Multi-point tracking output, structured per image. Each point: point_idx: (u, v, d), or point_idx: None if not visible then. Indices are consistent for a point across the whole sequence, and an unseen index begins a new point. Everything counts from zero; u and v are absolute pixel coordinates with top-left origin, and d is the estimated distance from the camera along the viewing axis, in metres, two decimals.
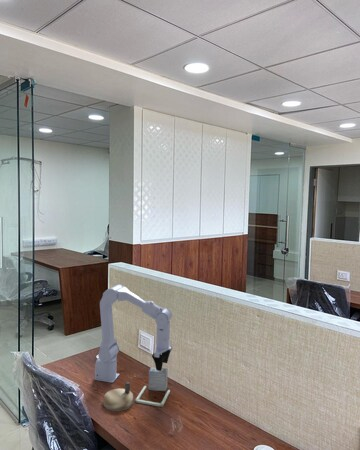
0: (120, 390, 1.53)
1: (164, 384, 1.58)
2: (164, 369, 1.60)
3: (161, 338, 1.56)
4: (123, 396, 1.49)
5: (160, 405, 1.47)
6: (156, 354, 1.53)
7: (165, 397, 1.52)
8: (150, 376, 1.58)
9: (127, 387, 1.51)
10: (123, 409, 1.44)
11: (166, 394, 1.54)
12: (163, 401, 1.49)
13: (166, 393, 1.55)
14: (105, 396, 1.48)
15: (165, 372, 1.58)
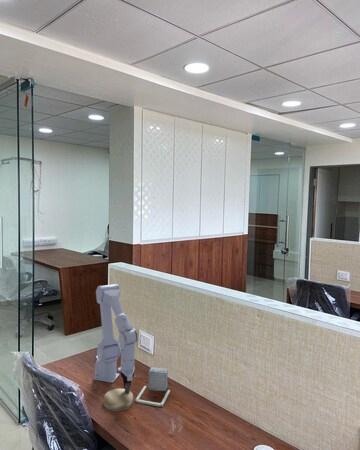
0: (120, 390, 1.53)
1: (164, 384, 1.58)
2: (164, 369, 1.60)
3: (122, 358, 1.50)
4: (123, 396, 1.49)
5: (160, 405, 1.47)
6: None
7: (165, 397, 1.52)
8: (150, 376, 1.58)
9: (127, 387, 1.51)
10: (123, 409, 1.44)
11: (166, 394, 1.54)
12: (163, 401, 1.49)
13: (166, 393, 1.55)
14: (105, 396, 1.48)
15: (165, 372, 1.58)
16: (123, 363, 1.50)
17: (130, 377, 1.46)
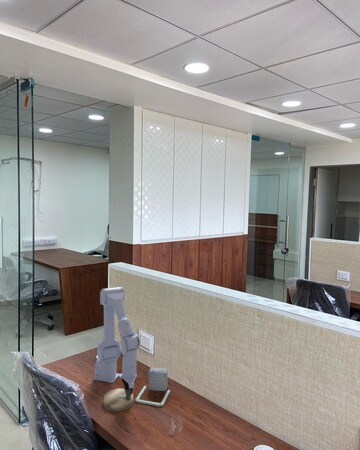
0: None
1: (164, 384, 1.58)
2: (164, 369, 1.60)
3: (123, 364, 1.46)
4: (119, 398, 1.47)
5: (160, 405, 1.47)
6: None
7: (165, 397, 1.52)
8: (150, 376, 1.58)
9: (126, 393, 1.46)
10: (123, 409, 1.44)
11: (166, 394, 1.54)
12: (163, 401, 1.49)
13: (166, 393, 1.55)
14: (114, 389, 1.53)
15: (165, 372, 1.58)
16: (125, 369, 1.45)
17: (132, 384, 1.41)
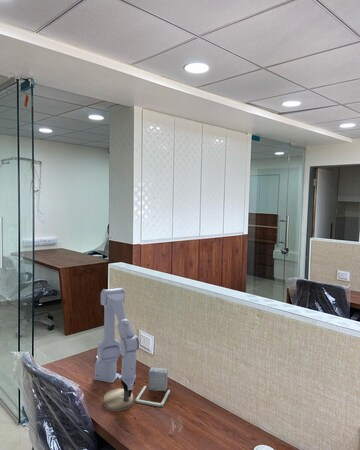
0: None
1: (164, 384, 1.58)
2: (164, 369, 1.60)
3: (122, 366, 1.44)
4: (118, 399, 1.47)
5: (160, 405, 1.47)
6: None
7: (165, 397, 1.52)
8: (150, 376, 1.58)
9: (124, 394, 1.46)
10: (123, 409, 1.44)
11: (166, 394, 1.54)
12: (163, 401, 1.49)
13: (166, 393, 1.55)
14: (118, 389, 1.54)
15: (165, 372, 1.58)
16: (124, 371, 1.44)
17: (131, 386, 1.40)
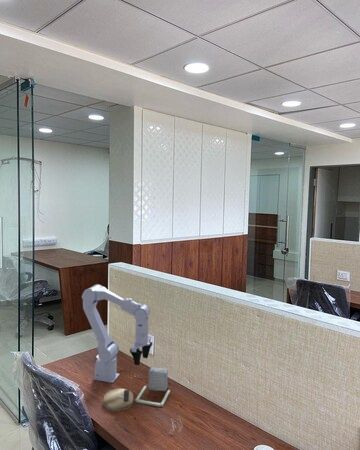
0: (129, 396, 1.49)
1: (164, 384, 1.58)
2: (164, 369, 1.60)
3: (140, 333, 1.60)
4: (118, 399, 1.47)
5: (160, 405, 1.47)
6: (133, 349, 1.56)
7: (165, 397, 1.52)
8: (150, 376, 1.58)
9: (124, 394, 1.46)
10: (123, 409, 1.44)
11: (166, 394, 1.54)
12: (163, 401, 1.49)
13: (166, 393, 1.55)
14: (118, 389, 1.54)
15: (165, 372, 1.58)
16: None
17: None
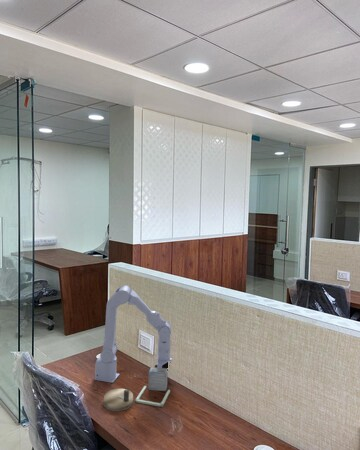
0: (129, 396, 1.49)
1: (164, 384, 1.58)
2: (164, 369, 1.60)
3: (164, 350, 1.64)
4: (118, 399, 1.47)
5: (160, 405, 1.47)
6: (159, 366, 1.61)
7: (165, 397, 1.52)
8: (150, 376, 1.58)
9: (124, 394, 1.46)
10: (123, 409, 1.44)
11: (166, 394, 1.54)
12: (163, 401, 1.49)
13: (166, 393, 1.55)
14: (118, 389, 1.54)
15: (165, 372, 1.58)
16: None
17: None
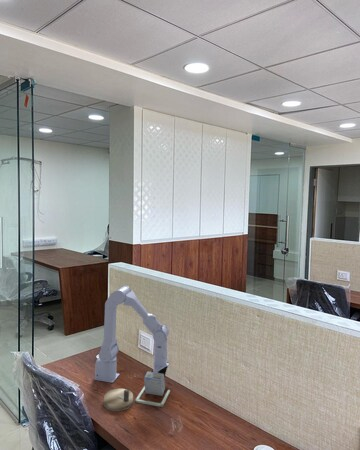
0: (129, 396, 1.49)
1: (160, 390, 1.53)
2: (160, 375, 1.54)
3: (159, 355, 1.59)
4: (118, 399, 1.47)
5: (160, 405, 1.47)
6: (155, 371, 1.55)
7: (165, 397, 1.52)
8: (145, 382, 1.53)
9: (124, 394, 1.46)
10: (123, 409, 1.44)
11: (166, 394, 1.54)
12: (163, 401, 1.49)
13: (166, 393, 1.55)
14: (118, 389, 1.54)
15: (160, 379, 1.52)
16: None
17: None
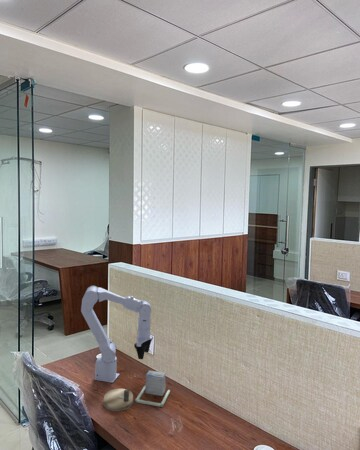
0: (129, 396, 1.49)
1: (161, 389, 1.54)
2: (162, 373, 1.57)
3: (145, 328, 1.66)
4: (118, 399, 1.47)
5: (160, 405, 1.47)
6: (138, 343, 1.62)
7: (165, 397, 1.52)
8: (147, 379, 1.55)
9: (124, 394, 1.46)
10: (123, 409, 1.44)
11: (166, 394, 1.54)
12: (163, 401, 1.49)
13: (166, 393, 1.55)
14: (118, 389, 1.54)
15: (162, 376, 1.54)
16: None
17: None
